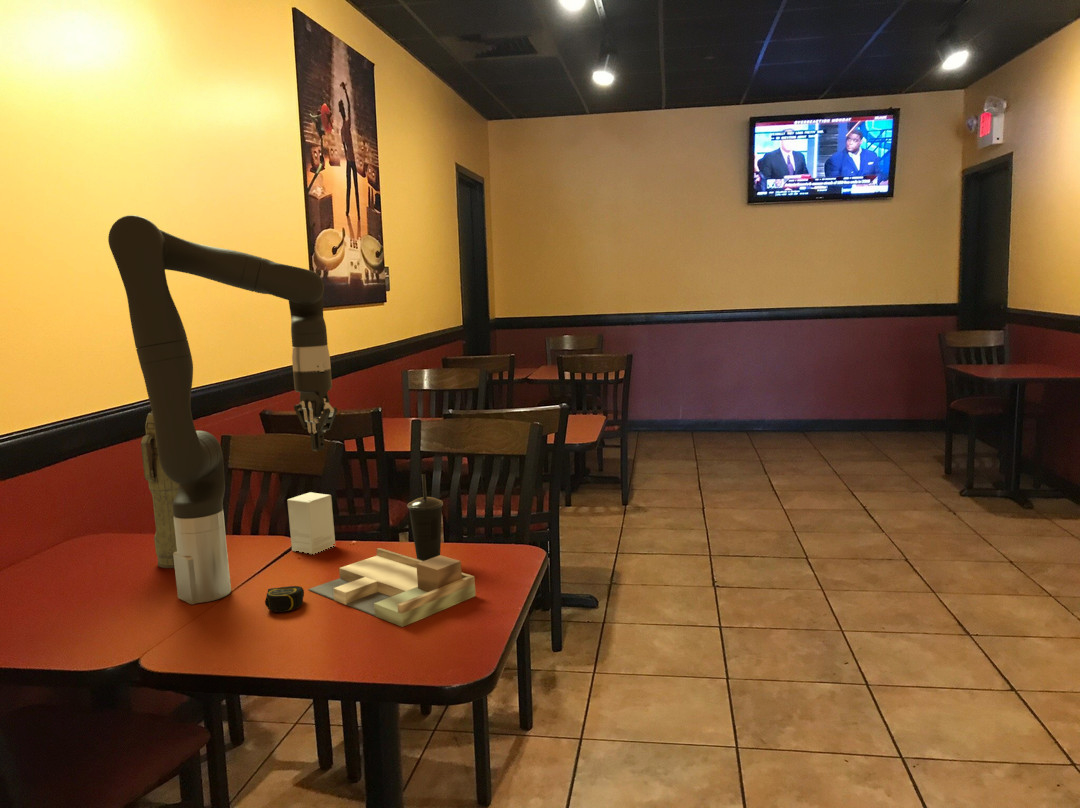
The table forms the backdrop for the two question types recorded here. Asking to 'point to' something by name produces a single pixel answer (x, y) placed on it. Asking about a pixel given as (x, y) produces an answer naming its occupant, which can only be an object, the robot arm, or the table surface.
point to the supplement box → (311, 522)
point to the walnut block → (438, 572)
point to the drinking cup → (426, 525)
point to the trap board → (393, 589)
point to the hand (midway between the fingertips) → (318, 450)
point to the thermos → (160, 497)
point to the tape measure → (284, 598)
